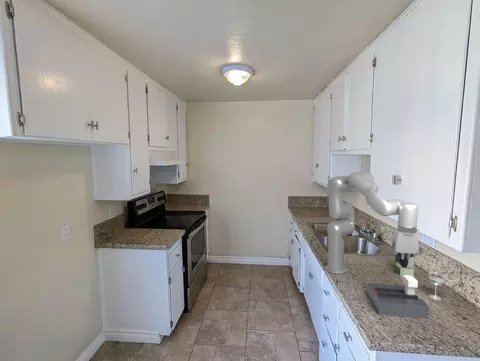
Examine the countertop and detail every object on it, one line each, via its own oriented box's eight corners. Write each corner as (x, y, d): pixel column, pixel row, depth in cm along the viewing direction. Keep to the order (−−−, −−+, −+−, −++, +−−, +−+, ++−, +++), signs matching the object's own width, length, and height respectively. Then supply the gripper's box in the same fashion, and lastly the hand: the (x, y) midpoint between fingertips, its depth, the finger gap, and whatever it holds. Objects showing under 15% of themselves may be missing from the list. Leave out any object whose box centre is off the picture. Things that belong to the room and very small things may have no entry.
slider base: (367, 294, 138) (367, 281, 137) (409, 297, 134) (409, 284, 133) (379, 314, 120) (379, 299, 119) (427, 318, 116) (428, 303, 116)
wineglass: (442, 302, 129) (444, 279, 128) (426, 297, 134) (427, 275, 132) (444, 297, 134) (445, 274, 133) (428, 292, 139) (429, 270, 137)
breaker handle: (402, 290, 129) (402, 275, 128) (411, 291, 128) (411, 275, 127) (407, 297, 123) (408, 280, 122) (417, 297, 122) (417, 281, 121)
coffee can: (391, 273, 162) (392, 251, 160) (399, 269, 167) (400, 248, 166) (409, 280, 153) (410, 256, 152) (417, 275, 158) (418, 253, 157)
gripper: (420, 227, 125) (417, 264, 128) (386, 225, 128) (383, 261, 130) (428, 232, 118) (425, 271, 120) (392, 230, 121) (389, 268, 123)
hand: (403, 266), depth 125 cm, fingers closed
